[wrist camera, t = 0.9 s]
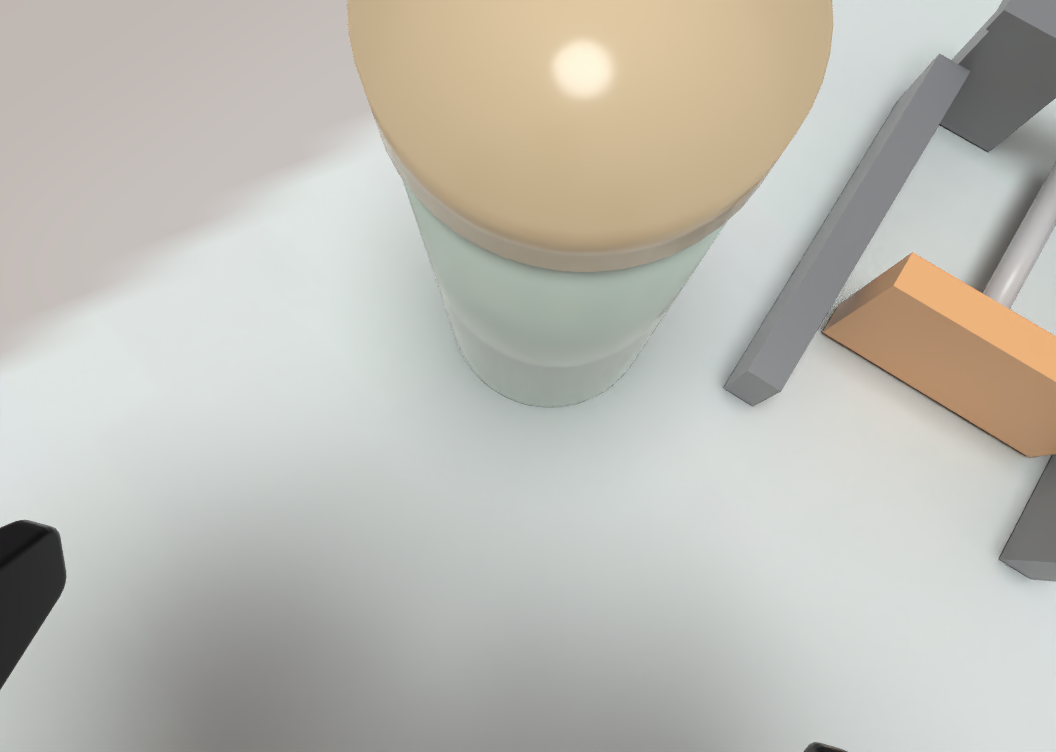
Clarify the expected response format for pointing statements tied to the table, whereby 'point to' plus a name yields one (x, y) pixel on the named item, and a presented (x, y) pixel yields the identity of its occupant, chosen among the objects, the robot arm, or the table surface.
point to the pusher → (965, 337)
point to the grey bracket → (934, 98)
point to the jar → (579, 159)
